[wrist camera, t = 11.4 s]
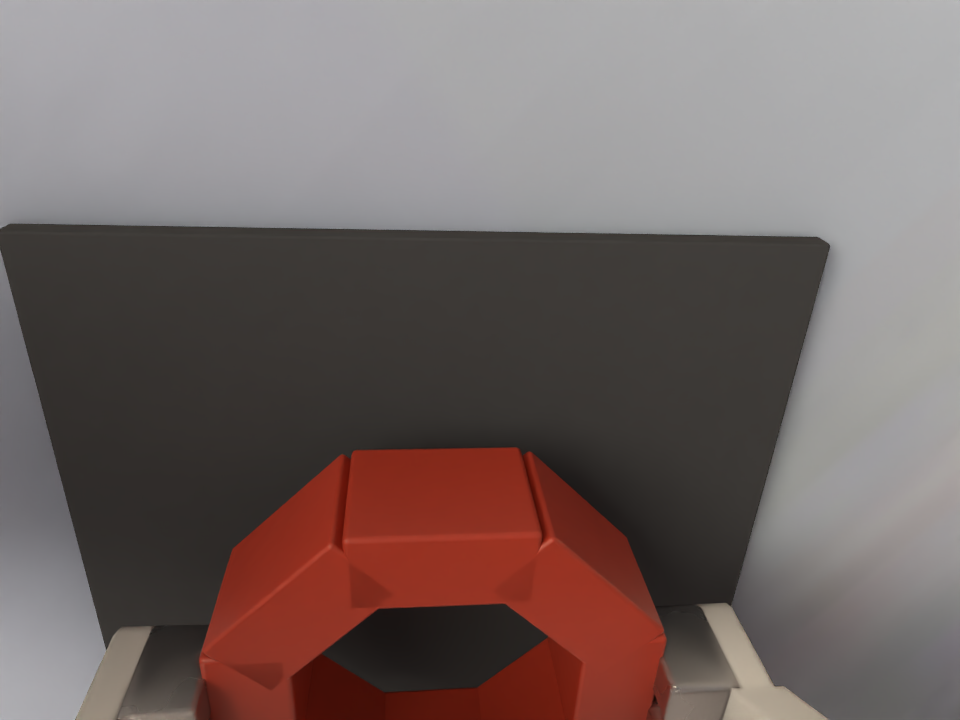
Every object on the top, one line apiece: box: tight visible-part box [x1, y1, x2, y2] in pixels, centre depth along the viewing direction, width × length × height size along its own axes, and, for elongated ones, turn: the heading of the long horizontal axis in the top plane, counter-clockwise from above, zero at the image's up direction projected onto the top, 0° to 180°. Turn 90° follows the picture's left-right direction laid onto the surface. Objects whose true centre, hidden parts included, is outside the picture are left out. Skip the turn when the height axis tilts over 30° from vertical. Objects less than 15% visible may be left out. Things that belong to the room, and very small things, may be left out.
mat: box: [0, 224, 830, 692], centre depth 13 cm, size 12×12×1 cm
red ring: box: [199, 447, 667, 720], centre depth 11 cm, size 6×6×2 cm
